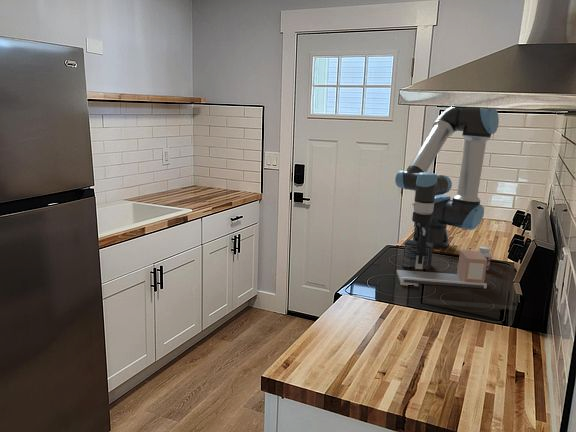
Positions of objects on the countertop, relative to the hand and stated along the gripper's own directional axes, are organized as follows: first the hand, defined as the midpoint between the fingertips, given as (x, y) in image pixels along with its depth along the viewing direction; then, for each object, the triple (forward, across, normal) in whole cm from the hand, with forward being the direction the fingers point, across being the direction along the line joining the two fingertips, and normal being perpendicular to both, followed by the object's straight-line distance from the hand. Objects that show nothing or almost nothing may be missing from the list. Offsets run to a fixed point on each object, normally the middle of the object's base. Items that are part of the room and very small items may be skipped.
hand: (416, 266), depth 194 cm
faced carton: (-1, +14, +17) cm, 22 cm away
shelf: (0, +14, +6) cm, 15 cm away
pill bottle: (0, -2, +26) cm, 26 cm away
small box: (+1, 0, 0) cm, 1 cm away
